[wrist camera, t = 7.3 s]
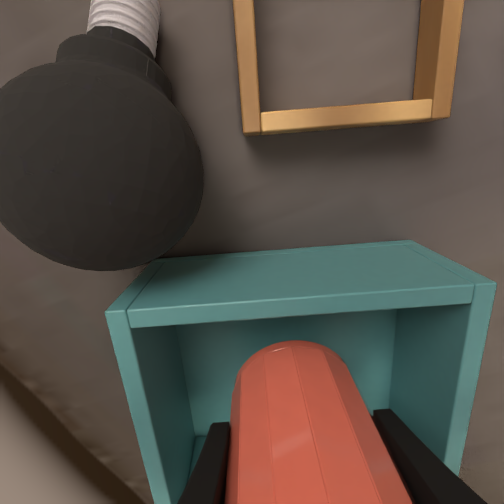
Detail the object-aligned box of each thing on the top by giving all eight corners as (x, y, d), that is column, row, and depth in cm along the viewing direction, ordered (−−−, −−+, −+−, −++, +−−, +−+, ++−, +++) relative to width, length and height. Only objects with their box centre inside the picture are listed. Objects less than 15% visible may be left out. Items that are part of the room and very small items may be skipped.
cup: (353, 333, 12) (467, 518, 6) (351, 432, 14) (437, 658, 7) (226, 343, 12) (205, 538, 6) (239, 441, 14) (233, 672, 8)
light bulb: (177, -171, 6) (123, 283, 6) (239, 50, 13) (216, 278, 12) (-54, -127, 8) (-119, 256, 7) (108, 56, 14) (81, 265, 13)
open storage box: (410, 239, 14) (498, 282, 9) (392, 422, 17) (449, 524, 12) (153, 258, 14) (103, 311, 9) (187, 436, 17) (164, 543, 13)
